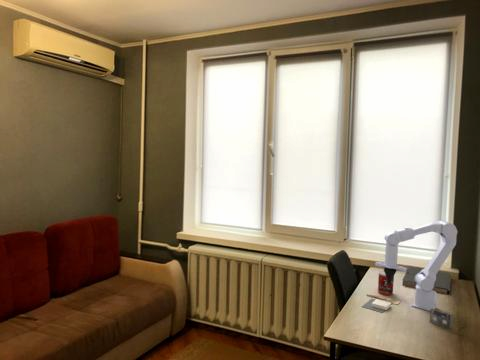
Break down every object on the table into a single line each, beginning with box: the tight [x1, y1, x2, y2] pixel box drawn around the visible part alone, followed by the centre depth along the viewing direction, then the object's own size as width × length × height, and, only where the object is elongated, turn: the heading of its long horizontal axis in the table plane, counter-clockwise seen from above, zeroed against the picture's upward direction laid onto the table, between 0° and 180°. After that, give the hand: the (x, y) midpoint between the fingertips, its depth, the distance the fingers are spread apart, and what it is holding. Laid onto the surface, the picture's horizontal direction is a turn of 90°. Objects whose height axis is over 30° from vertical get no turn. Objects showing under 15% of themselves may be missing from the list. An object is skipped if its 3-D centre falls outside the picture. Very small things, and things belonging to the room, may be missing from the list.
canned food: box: [377, 270, 395, 296], centre depth 201 cm, size 8×8×11 cm
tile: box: [372, 298, 392, 311], centre depth 182 cm, size 2×7×7 cm
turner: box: [366, 293, 401, 306], centre depth 192 cm, size 16×5×1 cm, turn 51°
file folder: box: [401, 266, 452, 295], centre depth 222 cm, size 33×4×24 cm
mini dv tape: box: [429, 309, 453, 329], centre depth 164 cm, size 8×2×6 cm, turn 41°
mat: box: [361, 298, 386, 314], centre depth 183 cm, size 10×14×1 cm
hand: (389, 283), depth 186 cm, fingers closed
